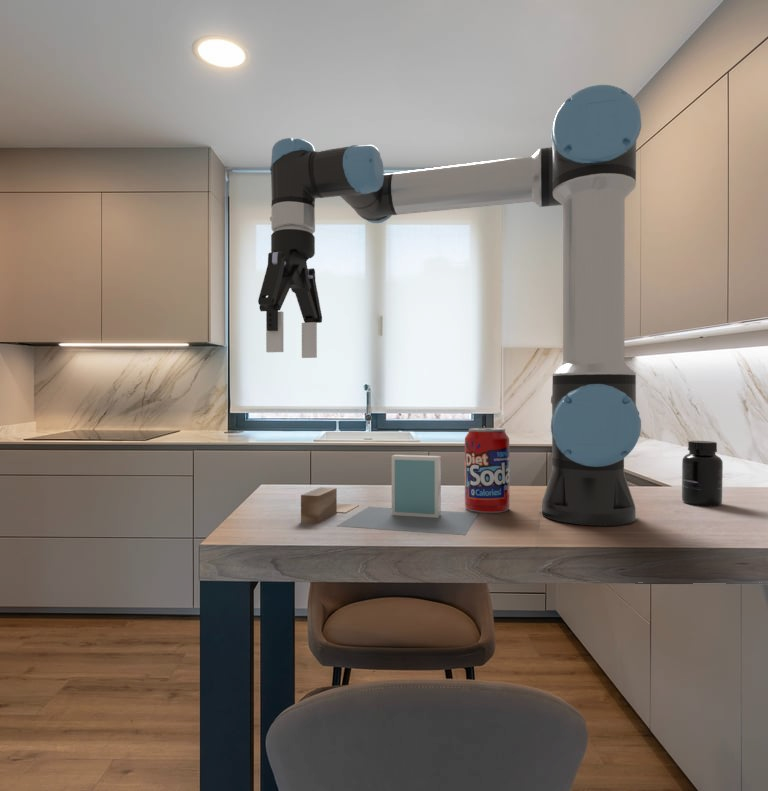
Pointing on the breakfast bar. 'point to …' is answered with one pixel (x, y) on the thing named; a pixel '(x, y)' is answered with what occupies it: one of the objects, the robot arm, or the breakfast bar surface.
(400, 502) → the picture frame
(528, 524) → the breakfast bar surface
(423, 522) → the mat
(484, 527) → the breakfast bar surface
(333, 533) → the breakfast bar surface
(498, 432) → the soda can
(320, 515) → the block with thin plate
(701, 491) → the supplement bottle
